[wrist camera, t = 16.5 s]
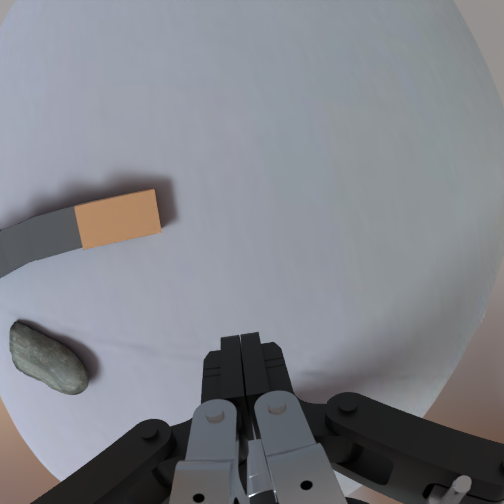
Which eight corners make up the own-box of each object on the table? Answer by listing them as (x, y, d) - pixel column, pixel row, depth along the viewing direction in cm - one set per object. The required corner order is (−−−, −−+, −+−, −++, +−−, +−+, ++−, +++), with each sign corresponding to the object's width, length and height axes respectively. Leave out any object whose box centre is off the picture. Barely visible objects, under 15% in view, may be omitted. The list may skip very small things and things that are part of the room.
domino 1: (24, 222, 33) (-28, 253, 30) (39, 256, 35) (-13, 285, 32) (26, 220, 35) (-24, 250, 32) (41, 253, 37) (-9, 281, 33)
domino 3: (98, 200, 34) (26, 220, 30) (107, 240, 36) (36, 260, 32) (98, 198, 36) (29, 218, 32) (107, 237, 37) (39, 256, 34)
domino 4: (154, 189, 34) (74, 206, 31) (161, 232, 36) (83, 249, 33) (153, 188, 36) (76, 204, 33) (160, 229, 37) (85, 245, 35)
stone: (95, 353, 42) (22, 312, 41) (83, 365, 38) (8, 320, 37) (88, 403, 44) (20, 363, 43) (78, 416, 40) (8, 373, 39)
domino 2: (61, 209, 34) (-2, 232, 30) (72, 247, 35) (10, 269, 32) (63, 207, 35) (2, 229, 32) (73, 244, 37) (13, 265, 34)
